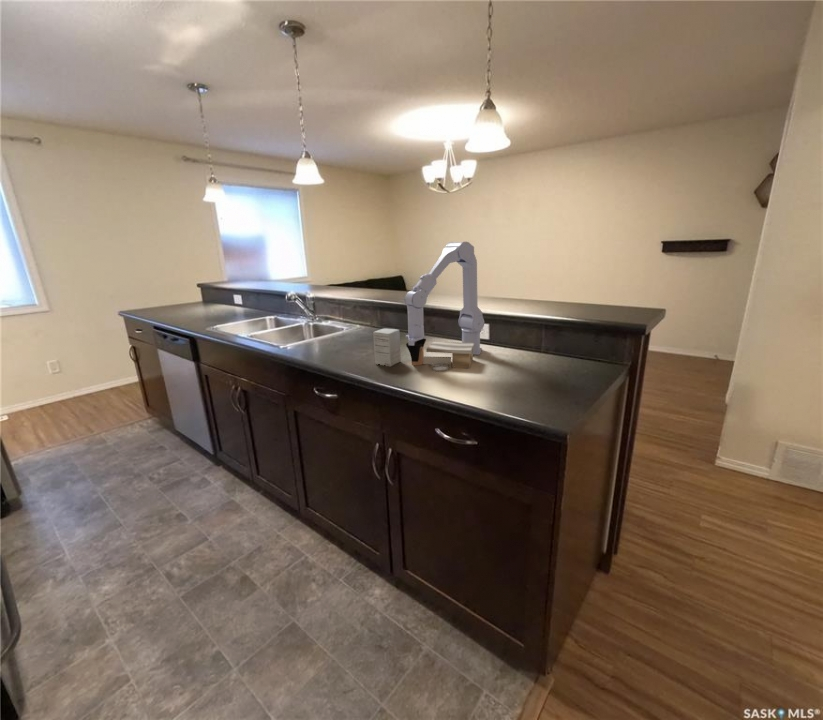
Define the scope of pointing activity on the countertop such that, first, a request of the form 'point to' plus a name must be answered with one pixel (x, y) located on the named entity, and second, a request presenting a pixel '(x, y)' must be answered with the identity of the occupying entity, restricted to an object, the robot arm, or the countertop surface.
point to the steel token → (440, 367)
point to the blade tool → (431, 359)
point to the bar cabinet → (455, 352)
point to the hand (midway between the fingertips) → (416, 359)
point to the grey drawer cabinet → (387, 346)
